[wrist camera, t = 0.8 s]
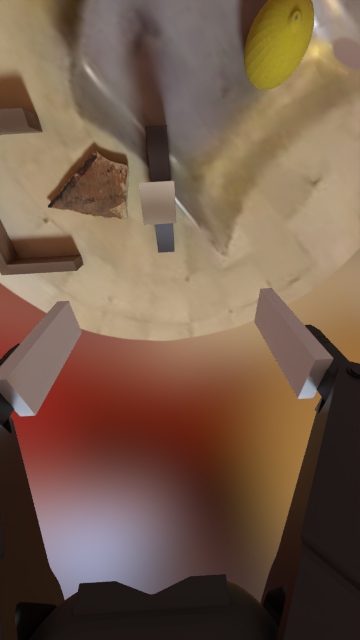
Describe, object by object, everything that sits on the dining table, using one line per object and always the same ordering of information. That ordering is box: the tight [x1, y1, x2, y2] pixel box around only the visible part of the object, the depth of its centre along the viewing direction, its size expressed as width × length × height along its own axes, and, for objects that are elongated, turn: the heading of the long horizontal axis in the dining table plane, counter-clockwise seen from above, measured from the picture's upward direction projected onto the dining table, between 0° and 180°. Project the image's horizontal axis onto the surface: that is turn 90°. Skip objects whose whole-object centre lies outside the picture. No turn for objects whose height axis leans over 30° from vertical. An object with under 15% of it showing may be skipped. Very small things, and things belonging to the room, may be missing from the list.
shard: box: [48, 149, 129, 219], centre depth 28 cm, size 11×8×2 cm
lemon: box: [244, 0, 314, 90], centre depth 20 cm, size 6×6×8 cm
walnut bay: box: [0, 108, 83, 275], centre depth 28 cm, size 18×12×3 cm, turn 3°
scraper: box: [139, 125, 176, 252], centre depth 25 cm, size 14×3×12 cm, turn 3°
